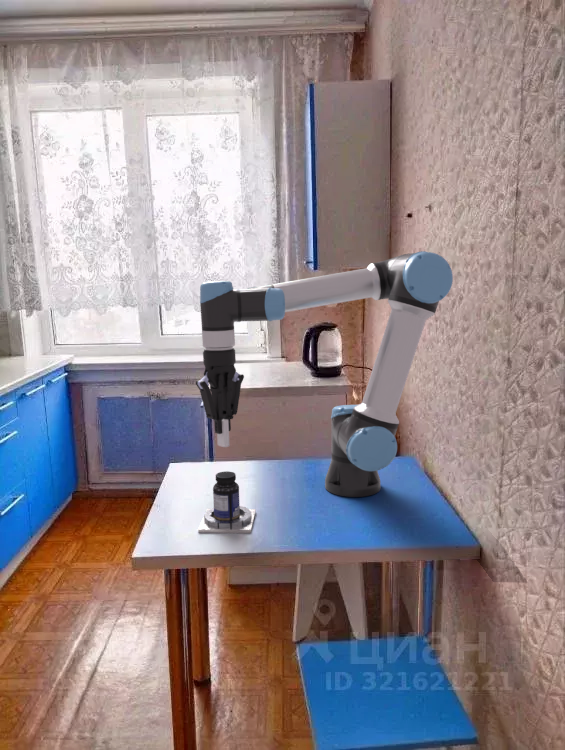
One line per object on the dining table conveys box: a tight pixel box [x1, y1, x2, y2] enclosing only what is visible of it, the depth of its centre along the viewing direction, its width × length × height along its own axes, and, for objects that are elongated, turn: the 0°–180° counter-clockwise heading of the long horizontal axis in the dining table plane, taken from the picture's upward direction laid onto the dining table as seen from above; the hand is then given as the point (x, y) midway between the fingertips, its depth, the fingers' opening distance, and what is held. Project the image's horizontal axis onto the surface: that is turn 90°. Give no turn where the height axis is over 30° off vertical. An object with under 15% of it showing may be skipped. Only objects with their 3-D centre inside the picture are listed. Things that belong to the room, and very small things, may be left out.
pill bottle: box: [212, 470, 241, 521], centre depth 140 cm, size 6×6×11 cm
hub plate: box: [197, 505, 257, 534], centre depth 141 cm, size 12×12×2 cm
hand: (223, 445), depth 143 cm, fingers closed
